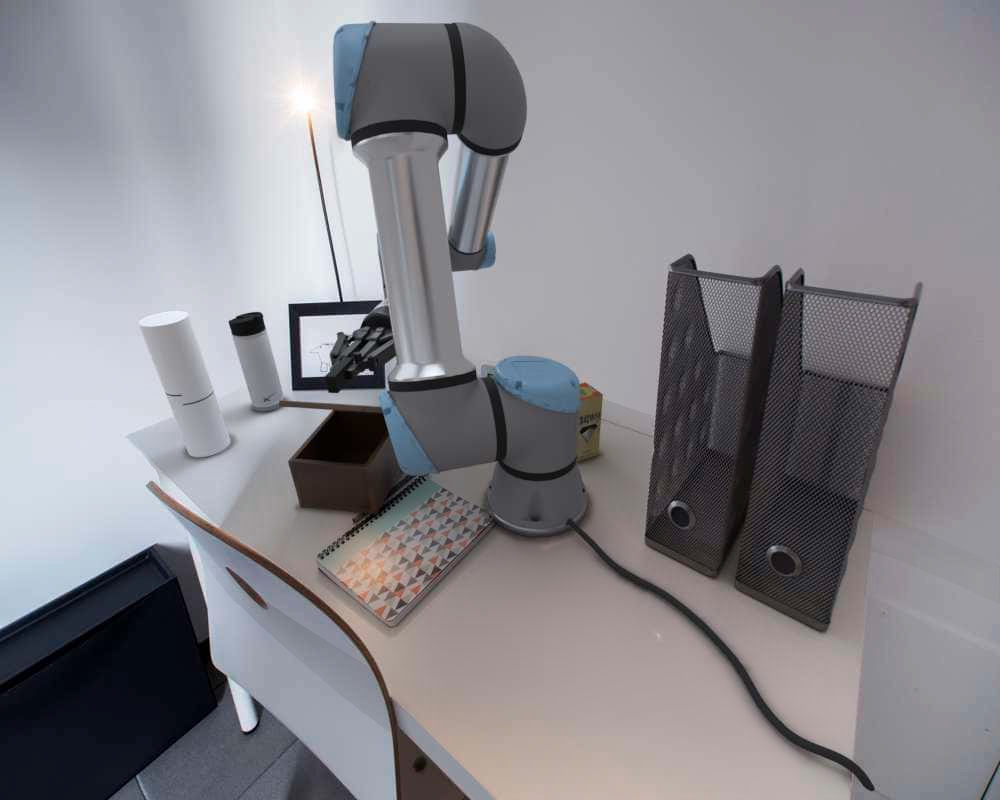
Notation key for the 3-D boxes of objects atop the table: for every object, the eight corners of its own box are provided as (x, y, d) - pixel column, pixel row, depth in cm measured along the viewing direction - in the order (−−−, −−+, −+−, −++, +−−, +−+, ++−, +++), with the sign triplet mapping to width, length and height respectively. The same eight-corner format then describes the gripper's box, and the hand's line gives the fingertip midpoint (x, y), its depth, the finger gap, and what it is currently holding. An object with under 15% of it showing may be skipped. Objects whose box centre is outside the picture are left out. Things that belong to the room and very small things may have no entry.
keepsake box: (376, 514, 80) (368, 468, 76) (300, 507, 82) (287, 461, 78) (409, 455, 94) (403, 412, 89) (342, 450, 96) (334, 408, 91)
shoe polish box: (598, 454, 92) (602, 394, 86) (574, 462, 90) (577, 401, 85) (582, 440, 96) (585, 382, 90) (559, 448, 94) (560, 389, 88)
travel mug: (276, 413, 108) (250, 321, 98) (247, 411, 109) (219, 319, 99) (292, 398, 113) (269, 309, 103) (264, 396, 114) (239, 308, 105)
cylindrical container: (201, 435, 101) (155, 311, 89) (237, 435, 101) (196, 310, 89) (180, 457, 95) (128, 326, 83) (218, 457, 95) (172, 326, 82)
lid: (362, 412, 73) (362, 405, 73) (278, 406, 75) (278, 400, 75) (403, 413, 89) (403, 408, 89) (333, 408, 91) (333, 403, 91)
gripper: (424, 345, 98) (377, 410, 77) (357, 342, 100) (295, 404, 79) (420, 306, 94) (370, 363, 74) (351, 304, 96) (284, 359, 76)
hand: (331, 384), depth 77 cm, fingers closed
